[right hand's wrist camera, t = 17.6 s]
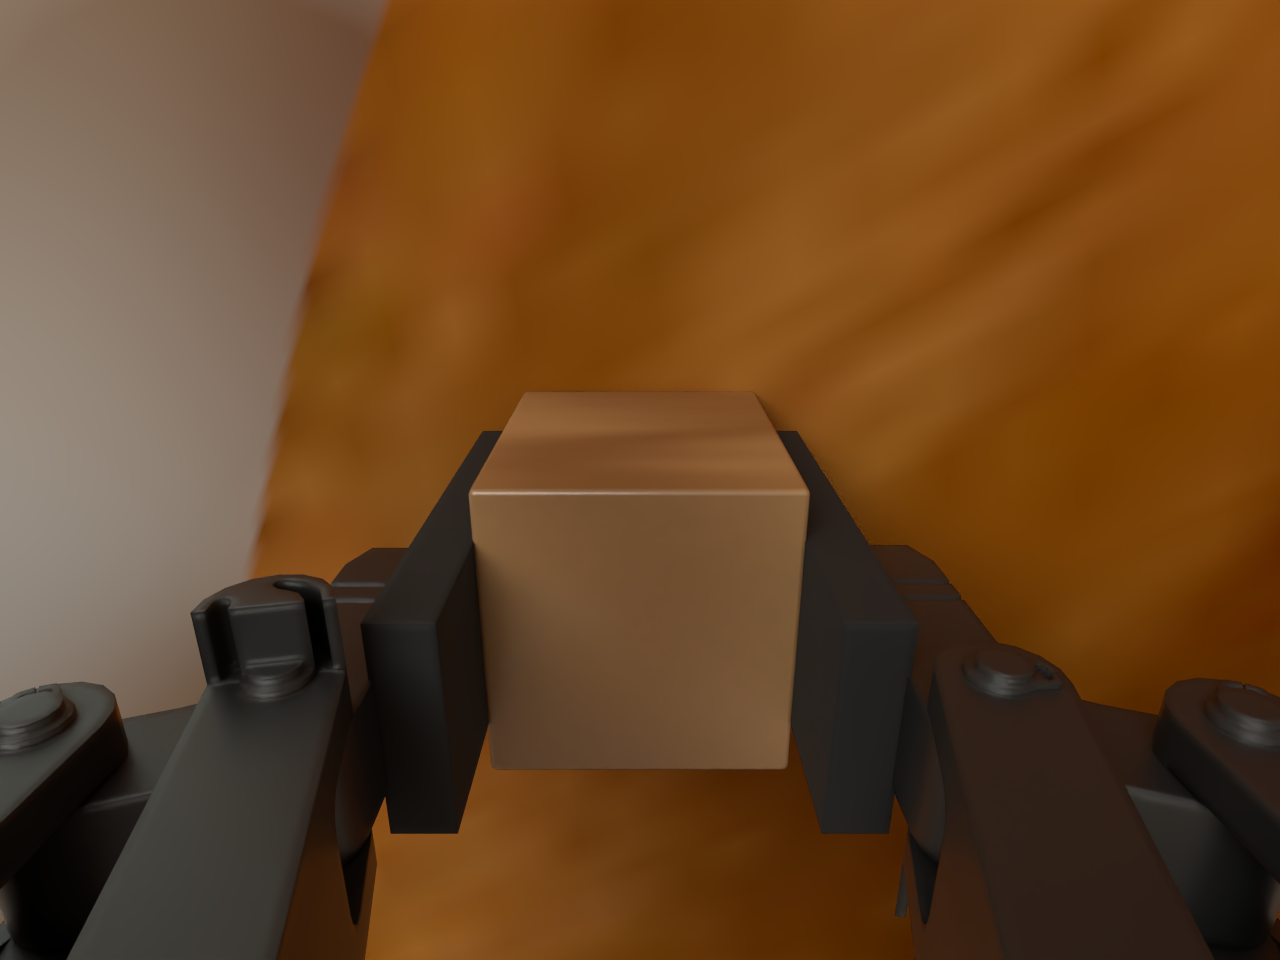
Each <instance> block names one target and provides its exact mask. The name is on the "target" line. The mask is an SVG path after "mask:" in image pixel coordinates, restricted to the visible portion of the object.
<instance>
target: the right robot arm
mask: <svg viewBox="0 0 1280 960" xmlns="http://www.w3.org/2000/svg"><path fill="white" fill-rule="evenodd" d="M502 432H503V431H483V432H482V433H481V435H480V436H479V438H478V440H477V441H476V443H475V444H474V446H473V447H472V449H471V451H470V452H469V454H468V455H467V457H466V458H465V460H464V462H463V463H462V465H461V466H460V468H459V469H458V471H457V473H456V474H455V476H454V477H453V479H452V480H451V482H450V483H449V485H448V487H447V488H446V490H445V491H444V493H443V494H442V496H441V498H440V499H439V501H438V502H437V504H436V505H435V507H434V509H433V510H432V512H431V513H430V515H429V516H428V518H427V520H426V521H425V523H424V524H423V526H422V527H421V529H420V531H419V532H418V534H417V535H416V537H415V538H414V540H413V542H412V543H411V545H410V546H409V548H372V549H370V550H369V551H367V552H365V553H364V554H362V555H360V556H359V557H357V558H355V559H354V560H352V561H350V562H349V563H347V564H346V565H345V566H344V567H343V569H342V570H341V571H340V572H339V574H338V575H337V576H336V578H335V579H334V580H333V582H332V583H331V585H330V584H329V583H327V582H326V581H325V580H323V579H321V578H316V577H312V576H307V575H274V576H268V577H262V578H256V579H251V580H248V581H245V582H242V583H239V584H236V585H233V586H230V587H227V588H224V589H223V590H221V591H219V592H217V593H215V594H213V595H211V596H210V597H208V598H206V599H204V600H203V601H202V602H201V603H200V604H199V605H198V606H197V607H196V608H195V609H194V610H193V611H192V612H191V617H192V621H193V626H194V630H195V635H196V639H197V643H198V647H199V652H200V656H201V660H202V664H203V669H204V673H205V677H206V682H207V687H206V689H205V691H204V692H203V694H202V696H201V698H200V700H199V702H198V704H194V705H190V706H186V707H182V708H177V709H172V710H167V711H161V712H156V713H151V714H146V715H140V716H135V717H130V718H125V719H122V718H121V715H120V711H119V708H118V704H117V701H116V697H115V694H114V693H112V692H111V691H110V690H109V689H107V688H106V687H105V686H103V685H99V684H93V683H87V682H73V683H62V684H49V685H44V686H39V688H38V689H36V688H31V689H28V690H25V691H22V692H19V693H17V694H15V695H13V697H10V698H8V699H6V700H3V701H1V702H0V912H1V915H2V917H3V920H4V921H3V922H2V923H1V924H0V960H365V953H366V945H367V937H368V930H369V922H370V914H371V906H372V898H373V890H374V883H375V875H376V867H377V861H376V854H375V846H374V840H373V834H372V827H373V824H374V822H375V819H376V817H377V815H378V812H379V810H380V807H381V805H382V803H383V800H384V798H385V797H386V804H387V811H388V818H389V825H390V831H391V834H458V831H459V828H460V824H461V820H462V817H463V813H464V810H465V806H466V803H467V799H468V795H469V792H470V788H471V785H472V781H473V778H474V774H475V770H476V767H477V763H478V760H479V756H480V753H481V749H482V745H483V742H484V738H485V735H486V731H487V728H488V724H489V722H488V710H487V698H486V686H485V674H484V662H483V650H482V638H481V626H480V613H479V601H478V589H477V577H476V565H475V553H474V542H473V540H472V529H471V517H470V506H469V492H470V489H471V487H472V486H473V484H474V482H475V480H476V478H477V477H478V475H479V473H480V471H481V469H482V468H483V466H484V464H485V462H486V461H487V459H488V457H489V455H490V453H491V452H492V450H493V448H494V446H495V445H496V443H497V441H498V439H499V437H500V436H501V434H502ZM776 432H777V434H778V436H779V438H780V439H781V441H782V443H783V445H784V447H785V448H786V450H787V452H788V454H789V455H790V457H791V459H792V461H793V463H794V464H795V466H796V468H797V470H798V472H799V473H800V475H801V477H802V479H803V481H804V482H805V484H806V486H807V488H808V489H809V492H810V502H809V514H808V526H807V539H806V543H805V555H804V568H803V580H802V592H801V604H800V616H799V628H798V641H797V653H796V665H795V677H794V689H793V701H792V714H791V726H792V729H793V733H794V736H795V740H796V743H797V747H798V751H799V754H800V758H801V761H802V765H803V768H804V772H805V776H806V779H807V783H808V786H809V790H810V793H811V797H812V801H813V804H814V808H815V811H816V815H817V818H818V822H819V826H820V829H821V833H822V834H889V828H890V821H891V814H892V808H893V801H894V794H895V795H896V797H897V800H898V802H899V805H900V807H901V809H902V812H903V814H904V816H905V819H906V821H907V824H908V826H909V827H908V834H907V840H906V846H905V853H904V859H903V866H902V872H901V878H900V885H899V891H898V897H897V904H896V912H895V916H899V917H904V918H906V912H907V907H908V904H909V912H910V920H911V928H912V936H913V943H914V951H915V959H916V960H1280V920H1279V919H1278V918H1277V916H1278V913H1279V911H1280V697H1277V696H1275V695H1273V694H1270V693H1268V692H1267V691H1265V690H1264V689H1261V688H1259V687H1255V686H1252V685H1249V684H1245V685H1242V683H1241V682H1236V681H1231V680H1216V679H1204V678H1195V679H1189V680H1183V681H1177V682H1176V683H1175V684H1173V685H1172V686H1171V687H1170V688H1168V689H1167V690H1166V692H1165V695H1164V699H1163V702H1162V706H1161V709H1160V713H1159V715H1153V714H1148V713H1143V712H1137V711H1132V710H1127V709H1122V708H1116V707H1111V706H1106V705H1100V704H1096V703H1092V702H1088V701H1084V700H1081V699H1080V697H1079V695H1078V693H1077V691H1076V689H1075V687H1074V685H1073V684H1072V682H1071V681H1070V680H1069V679H1068V678H1067V677H1066V675H1065V674H1064V673H1063V672H1062V671H1061V669H1059V668H1058V667H1056V666H1055V665H1053V664H1051V663H1050V662H1048V661H1047V660H1045V659H1044V658H1042V657H1041V656H1039V655H1036V654H1033V653H1031V652H1028V651H1026V650H1023V649H1021V648H1018V647H1015V646H1011V645H1006V644H1001V643H997V642H996V640H995V639H994V638H993V636H992V635H991V634H990V633H989V631H988V630H987V629H986V627H985V626H984V625H983V624H982V622H981V621H980V620H979V618H978V617H977V616H976V615H975V613H974V612H973V611H972V610H971V608H970V607H969V606H968V604H967V603H966V602H965V601H964V600H961V595H960V594H959V593H958V592H957V590H956V589H955V588H954V586H953V585H952V584H949V580H948V579H947V577H946V576H945V575H944V574H943V572H942V571H941V570H940V569H939V567H938V566H937V565H936V563H935V562H934V561H932V560H931V559H929V558H927V557H926V556H924V555H922V554H921V553H919V552H917V551H916V550H914V549H912V548H911V547H909V546H907V545H869V544H868V542H867V541H866V539H865V538H864V536H863V534H862V533H861V531H860V530H859V528H858V527H857V525H856V523H855V522H854V520H853V519H852V517H851V516H850V514H849V512H848V511H847V509H846V508H845V506H844V505H843V503H842V501H841V500H840V498H839V497H838V495H837V494H836V492H835V490H834V489H833V487H832V486H831V484H830V483H829V481H828V479H827V478H826V476H825V475H824V473H823V472H822V470H821V468H820V467H819V465H818V464H817V462H816V461H815V459H814V457H813V456H812V454H811V453H810V451H809V450H808V448H807V446H806V445H805V443H804V442H803V440H802V439H801V437H800V435H799V434H798V432H797V431H776Z"/></svg>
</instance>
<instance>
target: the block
mask: <svg viewBox="0 0 1280 960" xmlns="http://www.w3.org/2000/svg"><path fill="white" fill-rule="evenodd" d="M809 502H810V492H809V489H808V488H807V486H806V484H805V482H804V481H803V479H802V477H801V475H800V473H799V472H798V470H797V468H796V466H795V464H794V463H793V461H792V459H791V457H790V455H789V454H788V452H787V450H786V448H785V447H784V445H783V443H782V441H781V439H780V438H779V436H778V434H777V432H776V430H775V429H774V427H773V425H772V423H771V421H770V420H769V418H768V416H767V414H766V412H765V411H764V409H763V407H762V405H761V404H760V402H759V400H758V398H757V396H756V395H755V393H753V392H526V393H524V395H523V396H522V398H521V400H520V402H519V404H518V405H517V407H516V409H515V411H514V412H513V414H512V416H511V418H510V420H509V421H508V423H507V425H506V427H505V429H504V430H503V432H502V434H501V436H500V437H499V439H498V441H497V443H496V445H495V446H494V448H493V450H492V452H491V453H490V455H489V457H488V459H487V461H486V462H485V464H484V466H483V468H482V469H481V471H480V473H479V475H478V477H477V478H476V480H475V482H474V484H473V486H472V487H471V489H470V492H469V506H470V517H471V529H472V540H473V542H474V553H475V565H476V577H477V589H478V601H479V613H480V626H481V638H482V650H483V662H484V674H485V686H486V698H487V710H488V722H489V724H488V733H489V745H490V757H491V765H492V767H493V768H494V769H496V770H575V769H785V768H786V767H787V765H788V757H789V745H790V733H791V714H792V701H793V689H794V677H795V665H796V653H797V641H798V628H799V616H800V604H801V592H802V580H803V568H804V555H805V543H806V539H807V526H808V514H809Z"/></svg>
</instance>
